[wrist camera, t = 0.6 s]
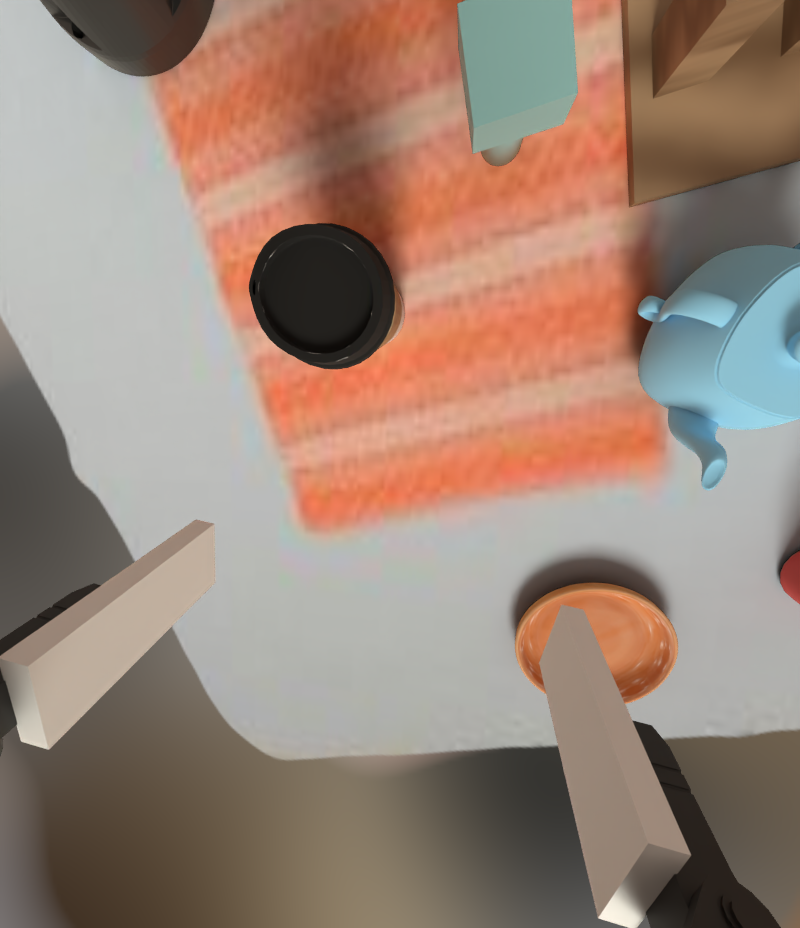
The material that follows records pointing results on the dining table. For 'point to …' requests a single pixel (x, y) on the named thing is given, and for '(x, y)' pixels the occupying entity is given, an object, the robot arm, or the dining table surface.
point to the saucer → (605, 635)
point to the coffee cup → (325, 295)
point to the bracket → (708, 91)
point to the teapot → (726, 349)
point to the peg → (515, 71)
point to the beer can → (791, 577)
